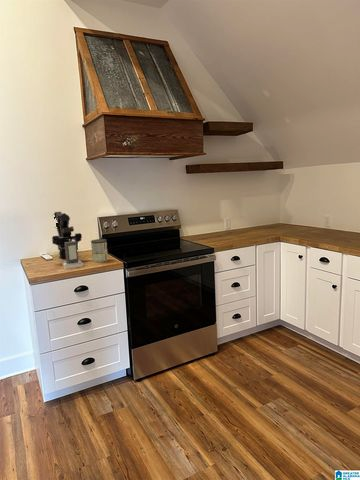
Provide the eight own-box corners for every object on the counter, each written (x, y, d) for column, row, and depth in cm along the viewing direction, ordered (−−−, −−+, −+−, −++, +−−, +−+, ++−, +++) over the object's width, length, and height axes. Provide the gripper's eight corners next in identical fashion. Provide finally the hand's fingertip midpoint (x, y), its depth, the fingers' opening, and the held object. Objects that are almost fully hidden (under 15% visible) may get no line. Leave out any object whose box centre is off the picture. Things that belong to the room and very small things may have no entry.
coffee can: (91, 260, 243) (89, 240, 240) (105, 258, 247) (104, 238, 245) (94, 263, 234) (92, 242, 231) (109, 260, 238) (108, 240, 236)
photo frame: (66, 263, 228) (64, 242, 225) (76, 261, 231) (74, 240, 229) (68, 264, 224) (66, 243, 222) (78, 262, 228) (76, 241, 225)
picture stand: (63, 265, 230) (62, 261, 230) (80, 263, 235) (79, 259, 235) (65, 269, 221) (65, 264, 221) (83, 266, 226) (82, 262, 226)
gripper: (50, 224, 230) (54, 243, 222) (79, 221, 238) (84, 239, 231) (50, 234, 239) (54, 253, 231) (78, 231, 247) (83, 249, 239)
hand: (69, 248), depth 233 cm, fingers open, 9 cm apart
